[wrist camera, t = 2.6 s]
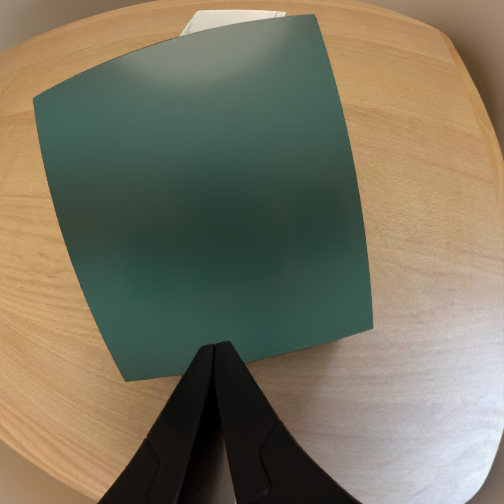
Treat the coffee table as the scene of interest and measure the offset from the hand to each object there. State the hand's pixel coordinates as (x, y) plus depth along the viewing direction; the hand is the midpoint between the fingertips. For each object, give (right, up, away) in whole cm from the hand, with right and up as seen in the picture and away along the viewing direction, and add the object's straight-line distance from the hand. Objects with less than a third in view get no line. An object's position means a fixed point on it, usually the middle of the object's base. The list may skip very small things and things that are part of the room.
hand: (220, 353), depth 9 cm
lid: (-1, +5, +4) cm, 6 cm away
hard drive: (-1, +31, +25) cm, 40 cm away
